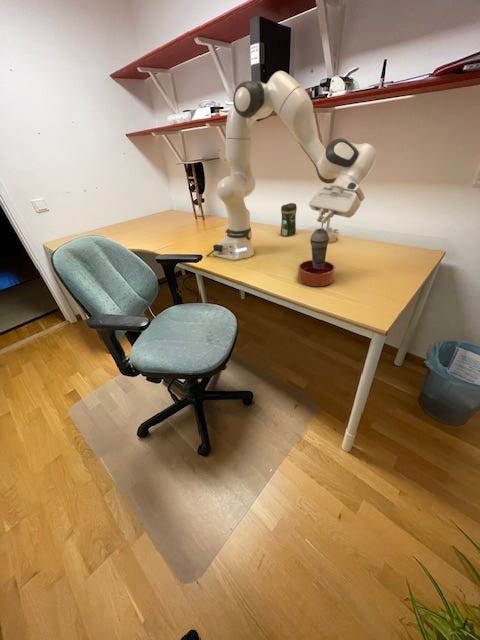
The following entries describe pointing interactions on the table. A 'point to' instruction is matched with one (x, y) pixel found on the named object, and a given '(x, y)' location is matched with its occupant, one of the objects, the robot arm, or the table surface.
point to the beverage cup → (319, 247)
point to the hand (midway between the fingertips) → (320, 221)
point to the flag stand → (331, 231)
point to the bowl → (315, 274)
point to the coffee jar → (288, 219)
